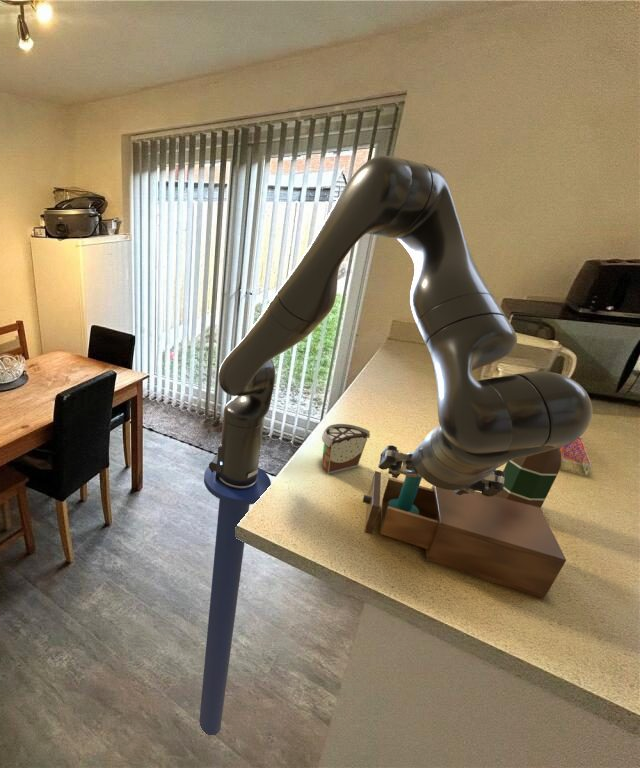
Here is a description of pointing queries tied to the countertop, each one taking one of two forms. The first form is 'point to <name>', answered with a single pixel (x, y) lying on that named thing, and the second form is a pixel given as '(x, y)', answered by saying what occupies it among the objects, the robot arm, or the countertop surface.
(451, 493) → the cabinet
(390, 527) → the drawer
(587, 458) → the pink sprinkled snack box
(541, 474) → the beer bottle
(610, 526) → the countertop surface
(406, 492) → the teal flanged rod post
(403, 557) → the countertop surface
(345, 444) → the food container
